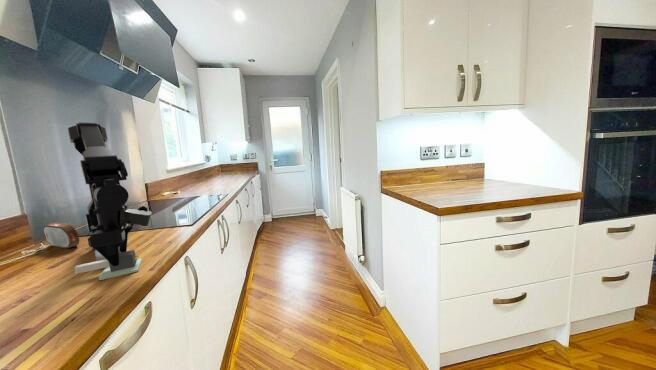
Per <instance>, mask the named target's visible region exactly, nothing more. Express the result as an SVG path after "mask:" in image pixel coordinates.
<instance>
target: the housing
mask: <svg viewBox="0 0 656 370" xmlns="http://www.w3.org/2000/svg"><path fill="white" fill-rule="evenodd" d="M120 253H121V252H120ZM94 256H95V260H96V261H101V260H106V258H105V257H103V256H102V255H101V254H100V253H99V252H98V251H97V250H96V249H94Z"/></svg>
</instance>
